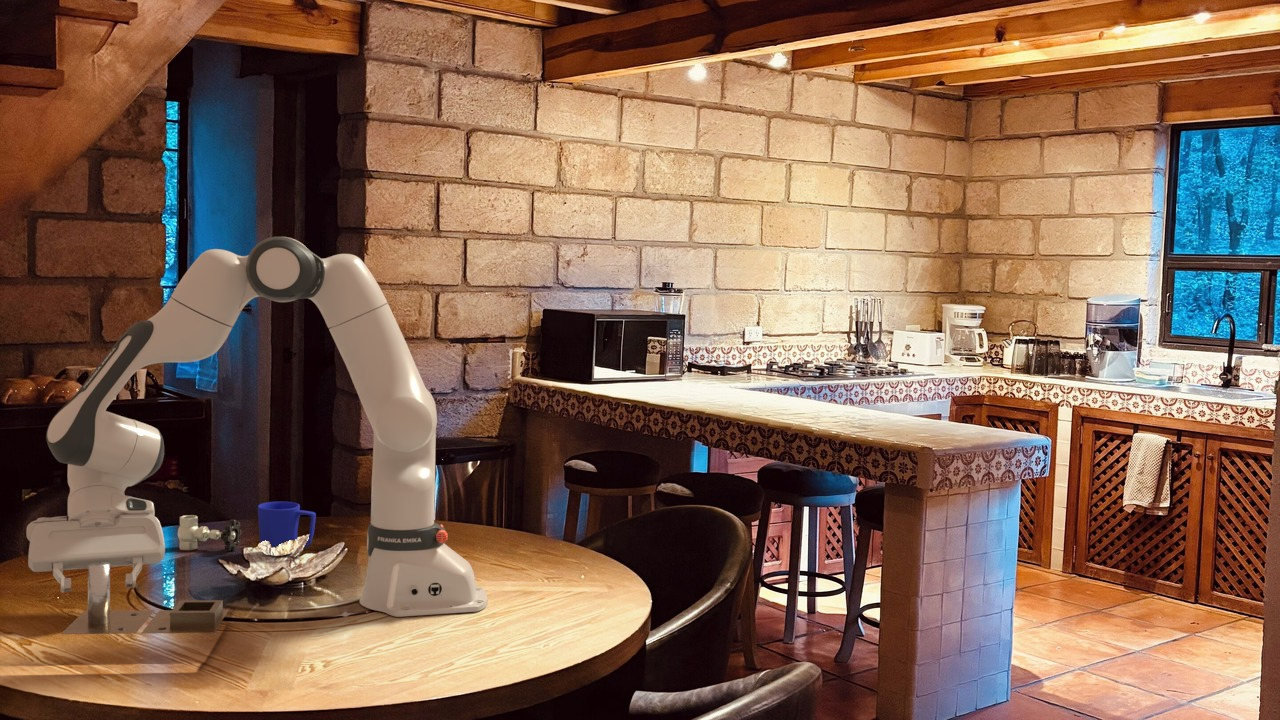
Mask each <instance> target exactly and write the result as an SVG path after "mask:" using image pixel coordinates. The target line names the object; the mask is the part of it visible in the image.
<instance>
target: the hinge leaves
mask: <svg viewBox="0 0 1280 720" xmlns="http://www.w3.org/2000/svg"><path fill="white" fill-rule="evenodd" d="M223 603H224V602H223V600H222V599H219V600H218V599H216V600H213V599H211V600H210V599H209V600H208V599H207V600H206V599H205V600H202V599H201V600H199V599H198V600H191V599H190V600H178V602H177V603H176V605H175V606H174V607H173V608H172V609H170V610H169V609H168V610H167V609H166V610H164V609H163V610H161V609H160V610H158V612H157V613H156V614H155V615H154V617H153V618H152V620H150V621H149V623H148V624H147V625H146V627H144V629H143V630H142V631H141V634H187V633H188V634H205V633H208V634H209V633H211V634H212V633H216V632H217V629H218V628H219V627H220V625H221V623H222V622H223V620H224V618H225V617H226V615H227V614H228V612H229V609H224V608H223V607H224V606H223ZM154 612H155V610H153V609H152V610H145V609H144V610H143V609H142V610H110V622H108V623H106V624H101V625H91V624H88V610H84V611H82V613H80V614H79V615H78V616H77V618H75V620H73V622H71V623H70V625H68V626H67V627H66V628H65V629H64V630H63V631H62V632H61V633H60V635H95V634H96V635H104V634H105V635H107V634H108V635H110V634H111V635H112V634H114V635H115V634H120V635H121V634H124V635H125V634H137V633H138V632H139V630H140V629H141V628H142V626H144V624H145V623H146V622H147V621H148V619H149V618H150V617H151V616H152V615H153V614H154Z"/></svg>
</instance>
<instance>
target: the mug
mask: <svg viewBox="0 0 1280 720" xmlns="http://www.w3.org/2000/svg"><path fill="white" fill-rule="evenodd" d="M300 508H301V506H300V504H299V503H297V502H292V501H269V502H263V503H260V504H259V505H257V517H258V532H259V533H258V534H259V544H260V543H261V542H262V541H265V540H266V541H269V542H270V544H271V546H272V547H276V546H278V545H279V544H281V543H284V542H286V541H289V540H295V539H297V540H298V529H299V521H300V517H301V515H302V516H304V515H306V516H310V524H309V525H310V526H309V534H308V537H309V540H308V539H307V540H308V541H306V542H307V543H306V542H305V544H306V545H305V547H304V548H303V549H306V548H308V547H309V546H310V545H311V544H312V541H313V539H314V538H313V537H314V533H315V529H316V527H315V525H316V518H317V514H316V512H314V511H309V510H302V509H301V510H300Z"/></svg>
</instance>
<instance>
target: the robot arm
mask: <svg viewBox="0 0 1280 720" xmlns="http://www.w3.org/2000/svg"><path fill="white" fill-rule="evenodd" d="M258 297H260V298H265V299H268V300H269V301H273V302H276V303H289V302H290V303H291V302H293V301H296V300H302V299H308V300H311V301H312V302H313V303H314V304H315V306H316V307H317V309H318V310H319V312H320V314H321V315H322V317H323V319H324V321H325V324H326V327H327V328H328V330H329V332H330V334H331V337H332V339H333V342H334V344H335V345H336V348H337V349H338V351H339V354H340V356H341V358H342V361H343V362H344V364H345V366H346V369H347V372H348V373H349V376H350V378H351V379H350V380H352V381H351V382H352V384H353V385H354V389H355V391H356V393H357V395H358V399H359V401H360V403H361V406H362V408H363V410H364V412H365V415H366V417H367V419H368V422H369V424H370V427H371V429H372V431H373V448H372V449H373V450H372V469H371V473H372V474H371V498H370V500H371V501H370V503H371V504H370V505H371V506H370V522H369V524H368V528H367V531H366V532H367V536H366V538H367V539H366V551H367V555H368V560H367V561H368V562H367V568H366V575H365V578H364V585H363V587H362V588H363V589H362V592H361V595H360V598H359V604H360V605H361V606H363V607H365V608H367V609H369V610H373V611H377V612H383V613H386V614H387V615H388V616H392V617H396V618H397V617H398V618H399V617H414V616H429V615H444V614H446V615H447V614H457V613H475V612H480V611H482V610H483V609H485V607H486V606H487V605H488V594H487V591H486V590H485V589H484V588H482V587H480V586H477V583H476V578H475V573H474V570H473V568H472V565H471V563H470V562H469V561H468V560H466V559H465V558H463V556H462V555H460V554H458V553H457V552H456V551H454V550H453V549H452V548H451V547H450V546H448V545H447V544H446V542H447V541H448V535H449V534H448V532H447V531H446V528H445V527H444V525H443V524H442V523H441V524H438V523H437V522H435V496H436V493H435V492H436V447H437V445H436V444H437V443H436V442H437V441H436V439H437V436H436V435H437V427H438V414H437V406H436V401H435V399H434V397H433V395H432V393H431V392H430V391H429V389H427V388H426V386H425V383H424V381H423V379H422V376H421V374H420V372H419V369H418V367H417V364H416V363H415V361H414V357H413V356H412V353H411V351H410V348H409V345H408V344H407V342H406V340H405V337H404V335H403V333H402V331H401V328H400V327H399V324H398V322H397V319H396V318H395V316H394V315H395V314H393V312H392V309H391V307H390V305H389V303H388V301H387V298H386V297H385V294H384V293H383V290H382V289H381V287H380V285H379V283H378V282H377V280H376V279H375V276H374V275H373V273H371V271H370V269H369V268H368V267H367V265H366V264H365V262H364V261H363V260H362V259H361V258H360V257H359V256H357V255H354V254H351V253H339V254H335V255H334V254H333V255H332V256H328V257H326V258H321V257H320V256H318V255H317V254H315V253H314V252H313V251H311V250H310V249H309V248H307V247H306V245H304V244H303V243H302V242H300V241H299V240H297V239H294V238H292V237H287V236H271V237H268V238H265V239H262V240H261V241H260V242H258V243H257V244H255V246H254V247H252V249H251V251H250V252H249V254H248V255H243V256H242V255H239V254H236V253H234V252H232V251H229V250H225V249H219V248H213V249H207V250H205V251H204V252H201V254H200V255H199V256H198V257H197V258H196V259H195V261H194V262H193V263H192V264H191V265H190V266H189V268H188V269H187V270H186V272H185V273H184V275H183V276H182V278H181V279H180V281H179V282H178V284H177V285H176V287H175V289H174V290H173V291H172V294H171V296H170V298H169V299H168V301H167V302H166V303H165V305H164V306H163V307H162V308H161V309H160V310H159V311H158V312H156V313H155V315H153V316H152V317H150V318H148V319H147V320H139V321H137V322H135V323H134V324H132V325H130V327H129V328H128V329H127V330H126V331H125V332H124V333H123V334H122V335H121V337H120V338H119V339H118V340H117V341H116V343H115V344H114V345H113V347H112V348H111V349H110V350H109V351H108V352H107V354H106V355H105V356H104V358H103V359H102V360H101V362H100V363H99V364H98V366H96V368H95V369H94V371H93V372H92V373H91V374H90V375H89V377H88V378H87V379H86V380H85V382H84V383H83V384H82V386H80V388H79V390H77V392H76V393H75V394H74V395H73V396H72V398H70V399H69V400H68V401H67V402H66V403H65V404H64V405H63V406H62V407H61V408H60V409H59V410H58V411H57V412H56V413H55V415H54V416H53V417H52V419H51V420H50V422H49V424H48V426H47V429H46V434H45V441H46V442H47V446H48V448H49V450H50V452H51V454H52V455H53V457H54V458H55V459H56V460H57V461H58V462H59V463H61V464H67V484H68V487H69V493H68V497H67V515H64V516H63V515H62V516H53V517H44V516H43V517H39V518H37V519H36V520H33V521H31V522H30V523H28V524H27V526H26V535H25V536H26V538H27V540H28V541H29V545H28V546H29V548H28V560H27V561H28V562H27V563H28V568H29V569H30V570H31V571H32V572H34V573H40V572H52V576H53V577H54V578H55V580H56V582H58V583H59V585H60V593H61V594H64V593H72V578H71V577H65V575H64V572H63V571H69V570H84V569H86V570H87V569H88V564H90V563H94V562H109V563H110V568H111V567H112V568H113V567H128V566H132V571H131V572H130V573H125V588H127V589H128V588H129V589H130V588H136V587H137V586H136V585H137V578H138V576H139V574H140V573H141V571H142V570H143V566H144V565H153V564H155V565H156V564H160V563H161V562H162V561H163V560H164V558H165V555H166V554H165V553H166V544H165V538H164V532H163V528H162V525H161V522H160V520H159V519H158V517H156V516H155V514H156V513H155V505H154V504H155V503H154V502H153V501H151V500H147V499H142V498H137V497H133V496H130V495H125V491H126V489H127V488H128V487H133V486H136V485H138V484H139V483H142V481H145V480H146V479H148V478H149V477H151V476H153V475H154V474H155V473H157V471H158V470H159V469H160V468H161V466H162V465H163V461H164V457H165V444H164V443H165V442H164V438H163V435H162V433H161V431H160V429H158V428H157V427H154V426H152V425H149V424H147V423H144V422H141V421H138V420H136V419H132V418H128V417H126V416H121V415H119V414H116V413H113V412H111V411H107V408H108V407H109V406H110V405H111V403H112V402H113V401H114V400H115V398H116V397H117V396H118V394H119V393H120V392H121V390H122V389H124V386H125V385H126V384H127V383H128V382H129V380H130V379H131V377H132V376H133V375H134V374H135V373H136V372H138V371H139V370H141V369H142V368H144V367H147V366H150V365H155V364H162V363H193V362H198V361H202V360H204V359H207V358H210V357H211V356H214V355H215V354H216V353H217V352H218V351H219V350H220V349H221V347H222V346H223V345H224V344H225V342H226V341H227V339H228V337H229V336H230V333H231V331H232V329H233V327H234V326H235V324H236V322H237V321H238V318H239V316H240V314H241V313H242V311H243V309H244V308H245V306H246V305H247V304H248V303H249V302H250V301H251V300H253V299H256V298H258Z"/></svg>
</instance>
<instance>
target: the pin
mask: <svg viewBox="0 0 1280 720" xmlns="http://www.w3.org/2000/svg"><path fill="white" fill-rule="evenodd" d="M110 600H111V567H110V563H109V562H94V563H90V564H88V568H87V611H88V624H91V625H101V624H106V623H108V622H110V611H111V601H110Z"/></svg>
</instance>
